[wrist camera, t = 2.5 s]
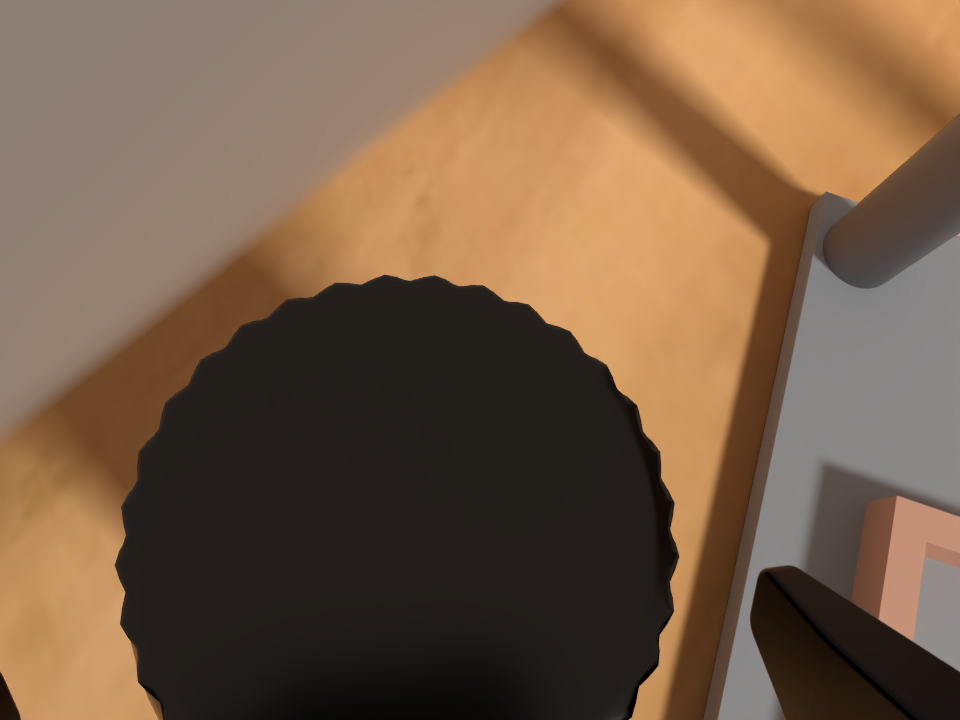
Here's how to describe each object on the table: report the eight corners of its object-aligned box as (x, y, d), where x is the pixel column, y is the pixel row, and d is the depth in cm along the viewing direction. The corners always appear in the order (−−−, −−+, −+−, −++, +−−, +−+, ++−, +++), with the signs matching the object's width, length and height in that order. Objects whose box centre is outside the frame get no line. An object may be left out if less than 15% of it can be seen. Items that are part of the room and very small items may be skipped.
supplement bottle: (242, 755, 17) (-113, 1084, 5) (247, 437, 19) (1, 167, 7) (561, 726, 17) (869, 956, 6) (533, 423, 19) (724, 161, 8)
